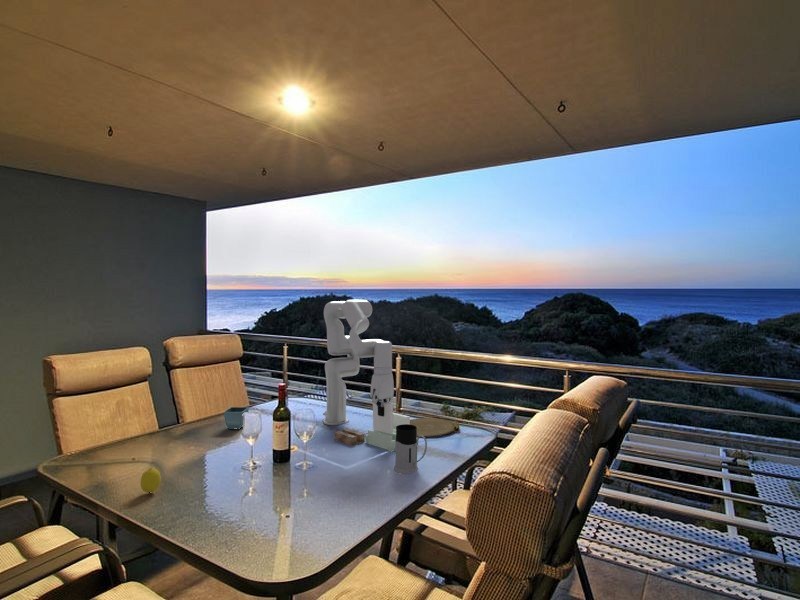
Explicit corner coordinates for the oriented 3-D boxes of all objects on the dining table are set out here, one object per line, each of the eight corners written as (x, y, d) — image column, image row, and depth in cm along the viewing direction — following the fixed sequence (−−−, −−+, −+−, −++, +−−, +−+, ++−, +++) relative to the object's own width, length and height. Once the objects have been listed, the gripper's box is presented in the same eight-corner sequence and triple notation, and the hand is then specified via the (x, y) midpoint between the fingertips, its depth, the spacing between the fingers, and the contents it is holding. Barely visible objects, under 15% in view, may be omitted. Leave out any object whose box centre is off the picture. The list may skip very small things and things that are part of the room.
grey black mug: (406, 462, 163) (406, 422, 162) (434, 473, 152) (434, 430, 152) (389, 468, 156) (389, 427, 156) (417, 480, 146) (417, 436, 146)
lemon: (146, 499, 132) (146, 472, 132) (136, 494, 135) (137, 469, 134) (164, 492, 136) (164, 467, 136) (154, 488, 139) (155, 463, 139)
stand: (333, 441, 185) (333, 432, 185) (346, 437, 191) (346, 428, 191) (352, 447, 178) (352, 438, 178) (365, 443, 183) (365, 433, 183)
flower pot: (242, 431, 198) (242, 411, 198) (223, 431, 199) (223, 411, 198) (249, 425, 207) (249, 407, 207) (230, 425, 207) (230, 406, 207)
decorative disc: (396, 416, 219) (455, 414, 219) (397, 422, 219) (456, 420, 219) (394, 434, 191) (462, 431, 190) (395, 441, 191) (463, 439, 190)
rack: (365, 444, 182) (365, 418, 182) (392, 434, 195) (392, 410, 194) (389, 452, 173) (390, 424, 173) (416, 441, 186) (416, 416, 185)
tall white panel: (373, 429, 182) (372, 400, 182) (375, 428, 183) (375, 400, 183) (390, 433, 175) (390, 404, 175) (393, 433, 177) (393, 403, 177)
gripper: (388, 367, 188) (388, 410, 188) (363, 372, 176) (362, 417, 176) (402, 369, 183) (401, 413, 183) (376, 374, 171) (376, 420, 171)
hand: (382, 415), depth 179 cm, fingers closed on tall white panel, 1 cm apart
